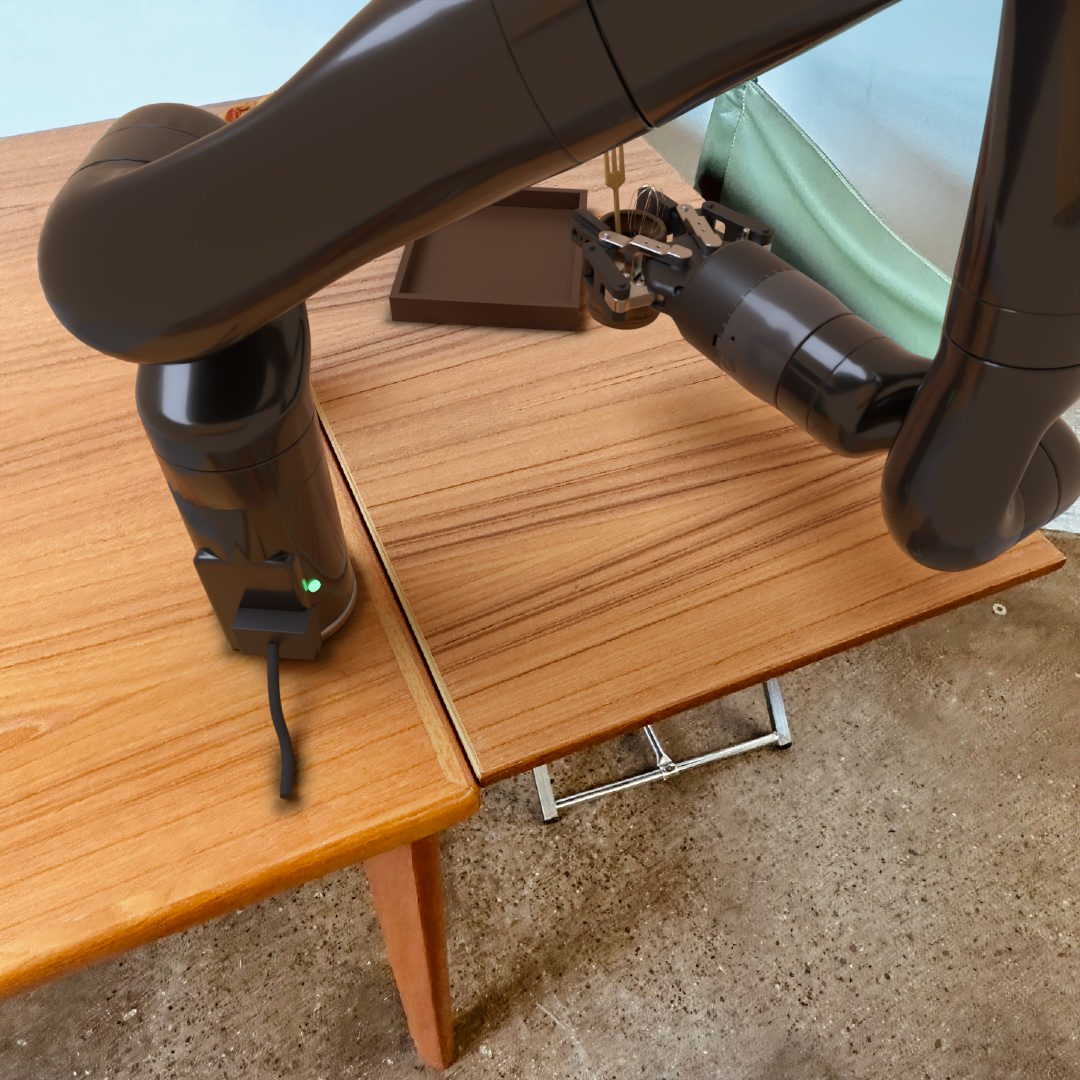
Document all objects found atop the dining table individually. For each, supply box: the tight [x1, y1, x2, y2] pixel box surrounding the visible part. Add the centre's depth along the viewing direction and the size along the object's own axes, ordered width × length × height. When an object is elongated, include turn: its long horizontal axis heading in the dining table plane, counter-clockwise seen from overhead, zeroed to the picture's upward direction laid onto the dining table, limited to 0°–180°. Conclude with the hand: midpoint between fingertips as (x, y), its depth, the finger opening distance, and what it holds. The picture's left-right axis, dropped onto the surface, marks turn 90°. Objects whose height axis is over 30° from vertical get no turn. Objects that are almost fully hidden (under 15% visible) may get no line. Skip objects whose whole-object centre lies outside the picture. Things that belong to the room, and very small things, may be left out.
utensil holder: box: [585, 144, 668, 331], centre depth 66 cm, size 6×6×12 cm
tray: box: [388, 186, 589, 332], centre depth 92 cm, size 22×18×3 cm
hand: (608, 210), depth 66 cm, fingers closed on utensil holder, 5 cm apart
